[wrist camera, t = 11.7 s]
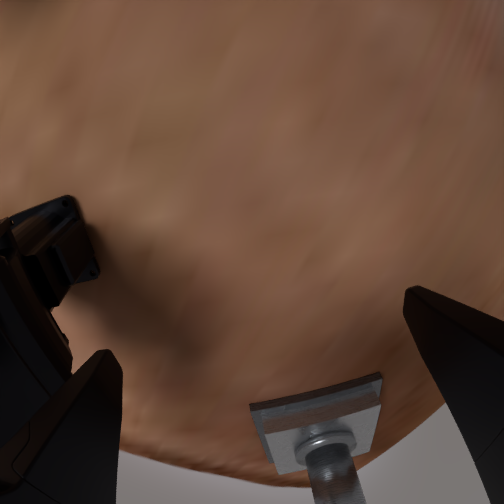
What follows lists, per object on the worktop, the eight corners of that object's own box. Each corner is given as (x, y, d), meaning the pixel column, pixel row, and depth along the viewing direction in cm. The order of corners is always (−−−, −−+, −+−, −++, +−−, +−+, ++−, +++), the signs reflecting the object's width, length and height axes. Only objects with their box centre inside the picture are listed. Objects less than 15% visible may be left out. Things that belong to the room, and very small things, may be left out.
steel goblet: (283, 459, 30) (303, 564, 18) (313, 430, 28) (345, 552, 15) (333, 459, 32) (359, 552, 20) (366, 430, 29) (403, 535, 17)
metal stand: (268, 457, 36) (271, 478, 33) (249, 404, 30) (252, 431, 27) (367, 432, 36) (375, 452, 33) (379, 371, 30) (391, 395, 27)
